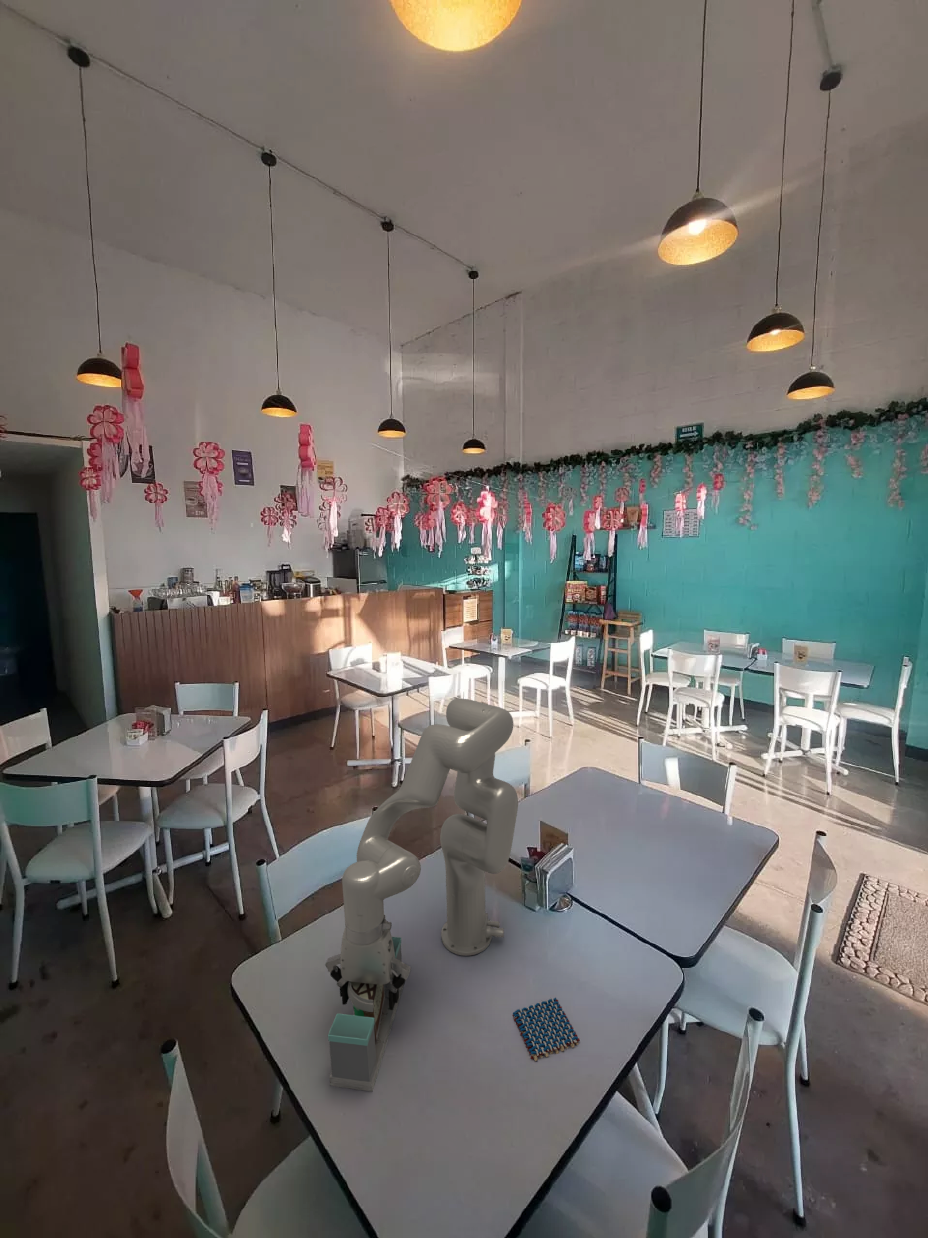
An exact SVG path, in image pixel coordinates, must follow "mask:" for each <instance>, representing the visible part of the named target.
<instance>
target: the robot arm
mask: <svg viewBox="0 0 928 1238" xmlns="http://www.w3.org/2000/svg"><path fill="white" fill-rule="evenodd" d="M445 710H446V712H445V716H446V721H447V725H446V724H438V723H437V724H430V725H428V726H427V727H426V728H424V730H423V731H422V733H421V736H420V738H419V740H418V743H417V745H416V748H415V750H414V753H413V756H412V757H411V760H410V764H409V766H408V768H407V771H406V773H405V776H404V778H403V781H402V783H401V786H400V788H399V789H398V790H397V791H396V792H395V793H394V794H392V795H391V796H389V797H388V798H387V799H385V801H383V802H382V804H380V805H379V806H378V807H377V809H376V810H375V811H374V812H372V814H371V816H370V818H369V819H368V821H367V823H366V825H365V827H364V830H363V833H362V835H361V838H360V840H359V843H358V847H357V851H356V862H354V863H351V864H350V865H348V866H347V867H346V869H345V870H344V872H343V874H342V877H341V878H342V879H341V880H342V881H341V884H342V885H341V886H342V896H343V912H344V925H345V926H344V930H343V932H342V933H343V934H342V938H341V939H342V940H341V948H340V953H338V954H336V955H333V956H331V957H328V958H327V960H326V962H325V964H324V966H325V967H326V969H327V971H328V972H329V973H330V974H329V975H330V977H331V978H332V979H333V980H334V981H335V982H336V986H337V987H339V996H340V998H341V1004H342V1005H343V1006H346V1005H347V1004H348V1001H349V1000H350V999H349V996H348V983H349V981H351V982H359V983H369V984H380V985H382V984H385V985H386V986H387V987H388V988H389V989H390V990H389V994H388V996H389V1009H390V1010H393V1008H394V1005H395V1003H398V999H399V988H400V987H401V986H402V985H403V984H404V985H405V982H406V981H407V980H408V978H409V975H410V973H411V971H412V970H411V969H412V967H411V966H410V965H408V964H407V963H404V962H403V961H402V962H401V961H399V960H397V959H395V952H394V945H393V940H392V937H393V936H392V933H391V930H392V925H393V924H392V921H388V920H387V919H386V915H385V908H384V905H385V904H384V900H385V899H388V898H390V897H393V896H395V895H398V894H400V893H402V892H404V891H406V890H408V889H409V888H412V886H414V884H416V882H417V881H418V879H419V877H420V875H421V870H422V866H421V862H420V859H419V858H418V857H417V856H416V855H415V854H414V853H412V852H411V851H408V850H406V849H404V848H403V847H401V846H400V845H398V844H396V843H394V842H392V841H391V840H389V837H390V833H391V831H392V829H393V828H394V825H395V823H397V821H398V820H399V819H400V818H401V817H402V816H403V815H404V814H406V813H408V812H410V811H413V810H416V809H428V808H432V807H435V806H436V805H437V804H438V802H439V799H440V798H441V795H442V791H443V788H444V786H445V783H446V782H447V781H446V780H447V778H448V775H449V772H450V771H451V770H453V771H455V772H456V779H455V783H454V791H453V801H454V803H455V805H456V806H457V807H458V808H459V809H460V810H463V811H464V812H467V813H468V814H471V815H474V816H476V817H478V818H480V819H483V820H484V821H486V823H485V822H484V821H482V820H479V819H477V818H475V817H473V816H469V815H467V814H462V813H454V814H452V815H450V816H449V817H447V818H446V819H445V820H444V822H443V824H442V826H441V829H440V837H439V838H440V840H439V842H440V845H441V846H440V847H441V851H442V854H443V860H444V868H445V890H446V891H445V892H446V893H445V895H446V922H445V923H444V924H443V926H442V927H441V932H440V935H441V937H440V938H441V942H442V944H443V946H444V947H445V948H446V949H447V950H448V951H449V952H451V953H453V954H455V955H457V956H463V957H464V956H467V957H468V956H474V955H477V954H480V953H482V952H483V951H485V950H486V949H487V948H488V947H489V945H491V942H492V939H493V937H496V938H504V934H505V932H504V931H505V928H504V927H500V921H499V920H498V921H495V920H494V921H492V920H491V919H489V914H488V912H486V873H488V874H491V875H495V874H499V873H500V872H502V871H503V870H504V869H505V867H506V866H507V864H508V862H509V860H510V857H511V852H512V848H513V841H514V836H515V835H514V834H515V827H516V824H517V823H516V822H517V816H518V811H519V797H518V793H517V790H516V789H515V787H514V786H513V785H512V784H510V783H509V782H507V781H505V780H502V779H500V778H499V779H498V778H496V777H495V776H494V770H495V769H494V767H495V759H496V753H497V752H498V751H499V750H500V749H501V748H502V747H503V746H504V745H505V744H506V743H507V742H508V740H509V739H510V737H511V736H512V734H513V733H512V732H513V730H514V719H513V716H512V714H511V713H510V711H509V710H507V709H505V708H503V707H500V706H496V705H492V704H488V703H484V702H480V701H477V700H473V699H468V698H454V699H452V700H450V701H449V703H448V704H447V706H446V709H445ZM338 965H340V966H338ZM393 969H394V970H396V971H398V972H399V973H401V974H400V975H399V976H398V975H397V974H396V972H395V971H394V970H393ZM390 977H391V979H392V980H393V981H391V980H390ZM398 1004H399V1003H398Z"/></svg>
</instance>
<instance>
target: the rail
mask: <svg viewBox="0 0 928 1238" xmlns="http://www.w3.org/2000/svg"><path fill="white" fill-rule="evenodd" d="M404 985H405V983H404V984H403V985H402V986H401V987H400V988H399V999H398V1003H395V1005H394V1008H393V1010H390V1009H389V996H388V994H389V990H390V989H389V988H384V992H385V998H384V1003H383V1009H382V1014H381V1019H380V1025H379V1030H378V1036H377V1040H375V1049H376V1062H375V1065H374V1068H373V1071H372V1075H371V1078H370V1081H369V1082H365V1081H358V1080H351V1079H343V1078H336V1077H332V1070H331V1071H330V1073H329V1086H330V1087H335V1088H344V1089H352V1090H356V1091H357V1090H358V1091H364V1092H371V1093H372V1092H373V1091H374V1087H375V1084H376V1081H377V1078H378V1074H379V1071H380V1067H381V1064H382V1060H383V1058H384V1054H385V1050H386V1047H387V1043H388V1040H389V1037H390V1034H391V1029H392V1027H393V1023H394V1019H395V1016H396V1012H397V1011H398V1006H399V1003H400V999H401V996H402V993H403V989H404ZM352 1015H354V1016H355V1014H354V1013H353V1014H352Z"/></svg>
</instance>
